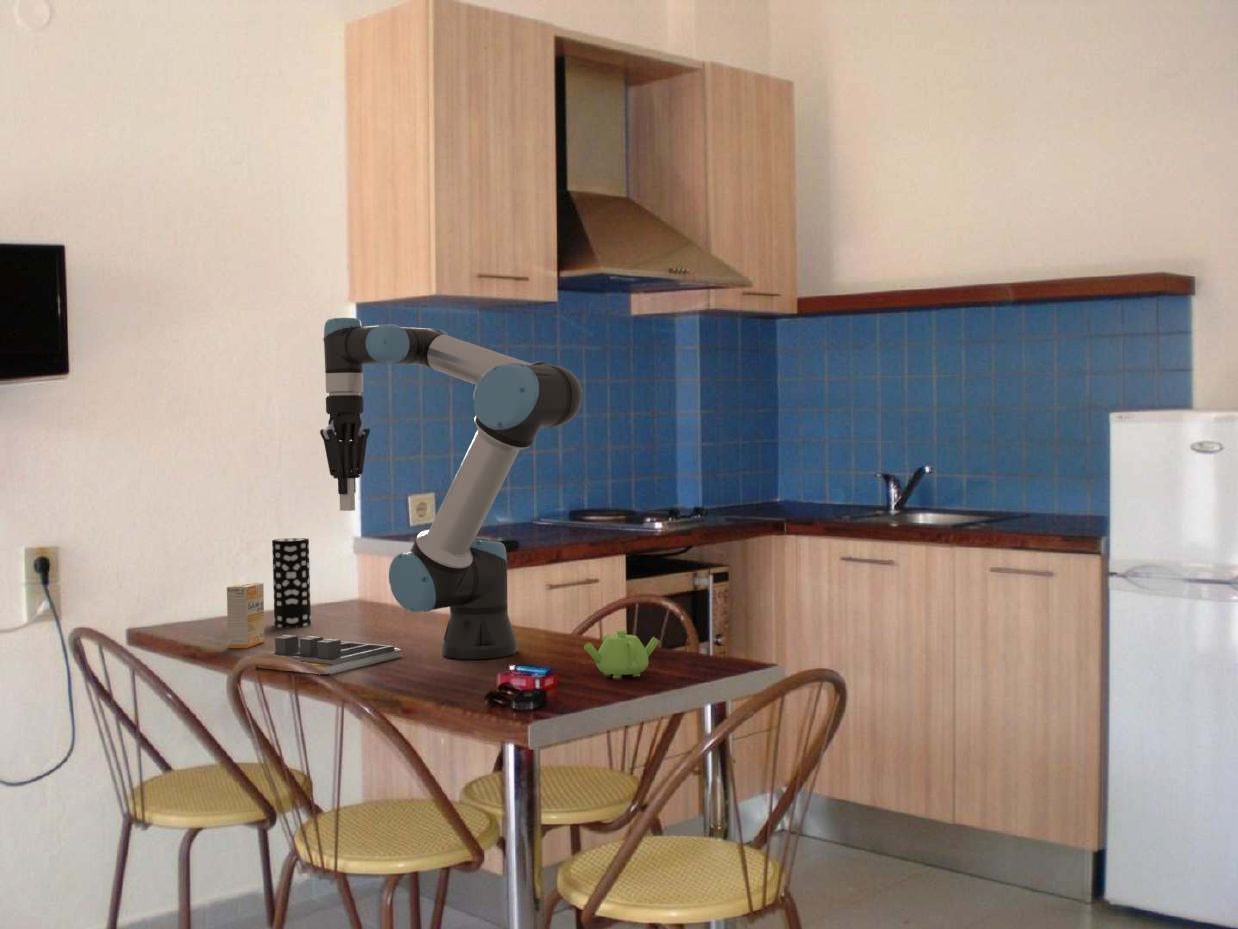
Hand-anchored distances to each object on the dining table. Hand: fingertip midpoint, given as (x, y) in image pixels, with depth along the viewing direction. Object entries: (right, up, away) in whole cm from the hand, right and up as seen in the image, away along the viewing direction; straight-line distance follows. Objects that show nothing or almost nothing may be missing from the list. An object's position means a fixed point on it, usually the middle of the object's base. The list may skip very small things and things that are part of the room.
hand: (347, 510), depth 281 cm
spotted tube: (-21, -28, +42) cm, 55 cm away
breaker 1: (-9, -28, -12) cm, 32 cm away
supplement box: (-24, -30, +13) cm, 40 cm away
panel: (-2, -30, -9) cm, 31 cm away
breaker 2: (0, -28, -18) cm, 33 cm away
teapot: (+56, -30, -29) cm, 69 cm away
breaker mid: (-4, -28, -14) cm, 32 cm away
